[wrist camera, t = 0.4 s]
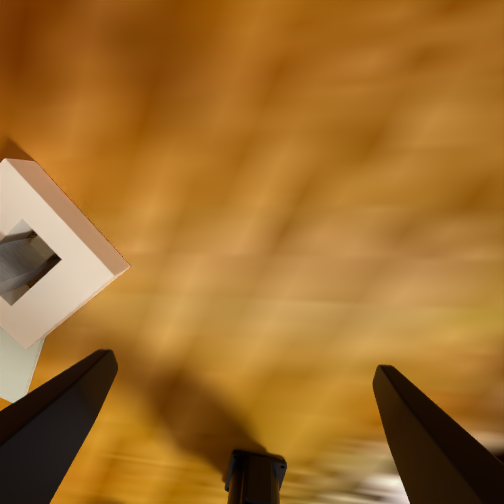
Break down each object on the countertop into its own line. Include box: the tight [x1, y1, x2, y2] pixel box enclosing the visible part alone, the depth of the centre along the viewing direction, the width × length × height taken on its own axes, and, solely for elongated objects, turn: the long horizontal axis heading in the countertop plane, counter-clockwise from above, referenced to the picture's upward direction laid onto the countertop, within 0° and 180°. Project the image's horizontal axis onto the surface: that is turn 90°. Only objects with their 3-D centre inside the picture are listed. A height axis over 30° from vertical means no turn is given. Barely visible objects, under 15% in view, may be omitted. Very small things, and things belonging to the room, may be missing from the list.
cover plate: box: [0, 158, 131, 349], centre depth 22 cm, size 12×13×2 cm
